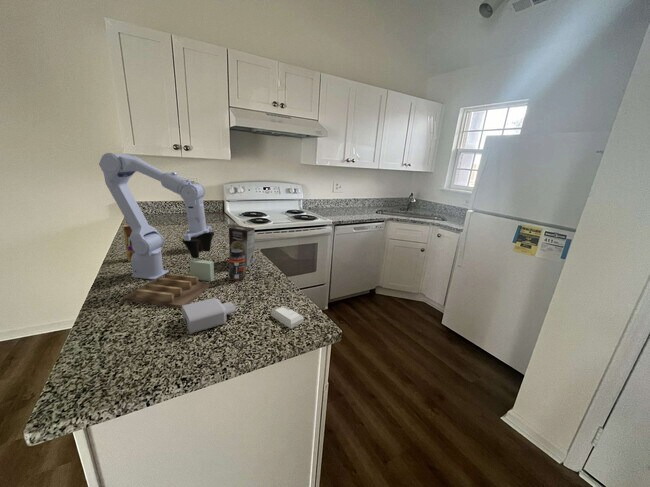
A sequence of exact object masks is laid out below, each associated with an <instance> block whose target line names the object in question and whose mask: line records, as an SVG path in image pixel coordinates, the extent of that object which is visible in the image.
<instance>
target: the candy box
mask: <svg viewBox="0 0 650 487" xmlns="http://www.w3.org/2000/svg"><path fill="white" fill-rule="evenodd" d="M122 227H123V234H124V235H123V236H124V242H125V250H126V257H127V262H131V257H132V255H133V254H134V253H135V252H134V250H133V249H132V243H131V240H130V238H129V237H130V235H131V233H132V229H131V228H130V226H129V224H128V223H127V224H125V223H124V224H123V226H122ZM144 236H146V235H144Z"/></svg>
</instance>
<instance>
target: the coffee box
mask: <svg viewBox="0 0 650 487" xmlns="http://www.w3.org/2000/svg"><path fill="white" fill-rule="evenodd" d="M255 230H256V228H255V227H249V226H244V225H234V226H233V225H232V226H230V227H228V244H229V245H228V246H229V248H228V249H229V252H228V253H229V257H230V256H231V255H232V254H231V251H232V250H234V249H240V250H242V253H243V255H244V256H245V267H248V266H250V265H252V264H253V263H255Z"/></svg>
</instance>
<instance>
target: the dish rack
mask: <svg viewBox="0 0 650 487" xmlns="http://www.w3.org/2000/svg"><path fill="white" fill-rule="evenodd" d="M210 287H212V286H211V283H210V282H209V283H208V282H202V281H201V282H200V281H199V280H198V277H195V276H191V275H185V274H179V273H178V274H176V273H169V272H168V273H166V274H164V276H163V277H162V276H160V277H158V278H156V279H154V280H153V279H151V281H149V282H147V283H145V284H143V285H142V286H140V287H138V288H136V289H133V291H131V292H129V293H127V294H125V295H124V296H122V297H121V298H122V299H121V300H122V301H126V302H132V303H141V304H146V305H155V306H162V307H170V308H177V309H182V306H183V305H187V304H191V302H193V301H194V300H195V299H197V297H199V296H200V295H201V294H203V293H204V292H205V291H206V290H207V289H209V288H210Z"/></svg>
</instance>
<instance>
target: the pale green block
mask: <svg viewBox="0 0 650 487" xmlns="http://www.w3.org/2000/svg"><path fill="white" fill-rule="evenodd" d="M214 263H215V262H214V261H210V260H202V259H197V258H192V259H191V260H190V261H189V272H190V273H189V274H190V275H189V276H195V277H198V281H208V282H212V281H213V280H214V279H215V269H214V268H215V267H214V266H215V264H214Z"/></svg>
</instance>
